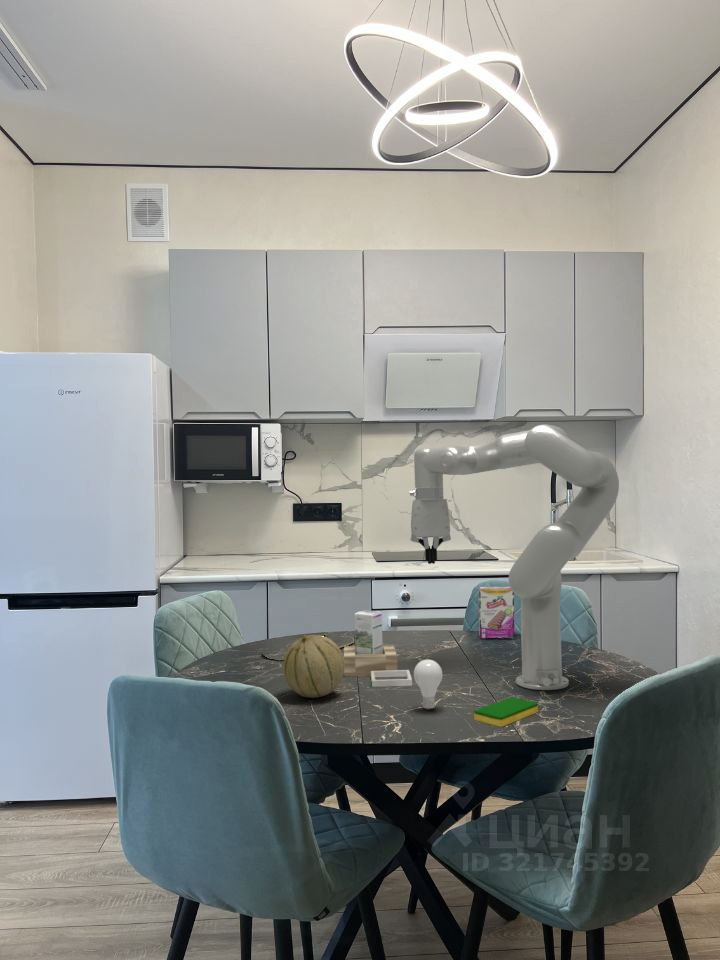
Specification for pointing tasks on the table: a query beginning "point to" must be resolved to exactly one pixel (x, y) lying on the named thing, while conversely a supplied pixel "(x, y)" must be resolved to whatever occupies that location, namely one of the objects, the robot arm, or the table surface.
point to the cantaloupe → (313, 666)
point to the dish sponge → (505, 711)
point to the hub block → (369, 661)
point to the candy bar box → (496, 612)
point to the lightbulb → (428, 681)
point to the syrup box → (368, 632)
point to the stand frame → (392, 681)
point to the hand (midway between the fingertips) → (431, 563)
